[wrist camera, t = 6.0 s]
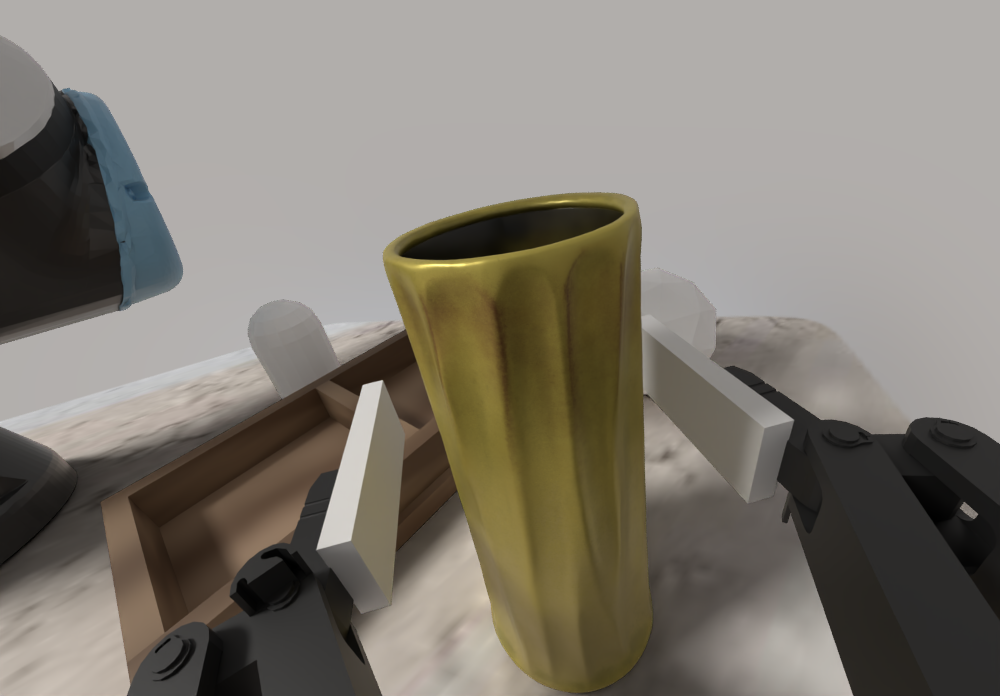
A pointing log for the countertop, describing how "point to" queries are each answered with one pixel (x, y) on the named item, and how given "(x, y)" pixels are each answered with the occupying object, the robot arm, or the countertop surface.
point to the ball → (679, 308)
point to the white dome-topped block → (291, 345)
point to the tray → (257, 496)
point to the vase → (542, 418)
